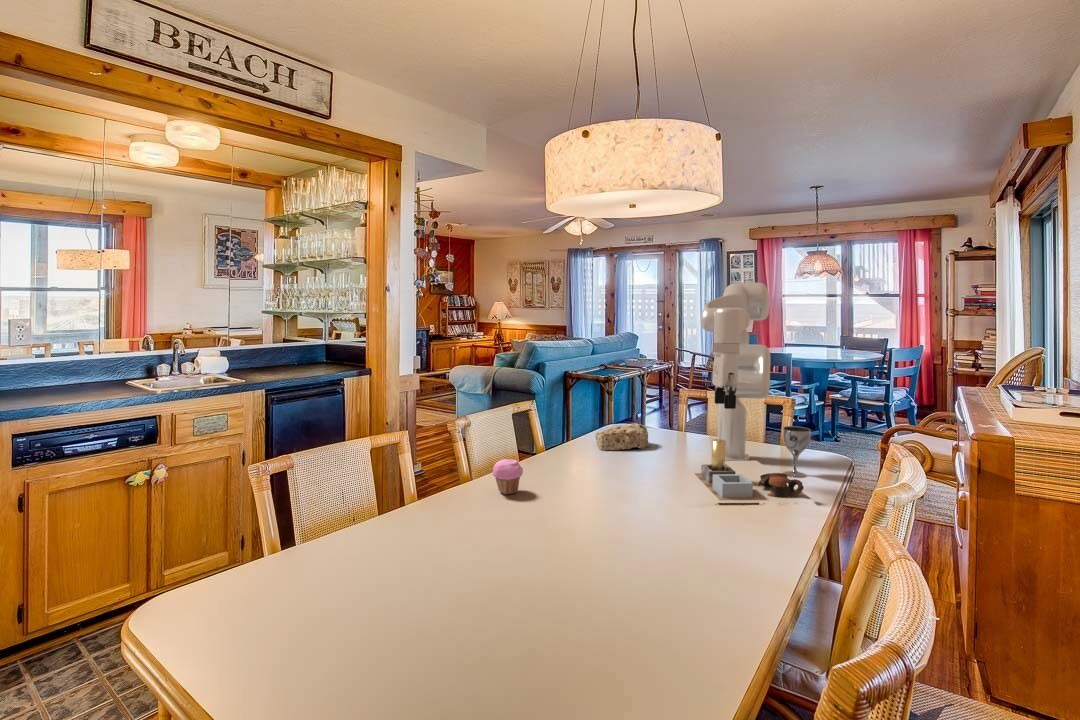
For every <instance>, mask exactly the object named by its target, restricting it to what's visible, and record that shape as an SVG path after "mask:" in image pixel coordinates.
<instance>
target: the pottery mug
mask: <svg viewBox="0 0 1080 720" xmlns="http://www.w3.org/2000/svg"><path fill="white" fill-rule="evenodd" d="M796 485H797V488H796V489H794V488H795V486H796ZM757 486H758V487H760V486H763V487H767V488H768V487H770V488H773V489H772V490H773V492H771V493H767V496H768V497H771V498H777V499H785V498H790V497H792V498H793V497H796V496H799V495H800V494H802V492H803V490H804V485H803V482H802V481H801V480H799V479H790V478H788V476H787V474H784V473H783V472H773V473H769V472H768V473H764V474H762V475H760V480H759V482H758V484H757Z"/></svg>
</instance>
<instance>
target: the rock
mask: <svg viewBox="0 0 1080 720" xmlns="http://www.w3.org/2000/svg"><path fill="white" fill-rule="evenodd" d="M594 437H595V440H596V443H597V444H596V446H597V448H598V450H599V451H603V450H605V451H619V450H630V449H633V448H637V449H642V450H643V449H646V448H648V447H649V432H648V428H647V427H646V425H645V424H641V423H636V422H633V423H630V424H628V423H626V424H624V425H622V426H621V425H617V426H614V427H609V428H606V429H605V430H602V431H601V432H598V431H597V432H596V433H595V434H594Z"/></svg>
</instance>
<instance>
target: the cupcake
mask: <svg viewBox="0 0 1080 720" xmlns="http://www.w3.org/2000/svg"><path fill="white" fill-rule="evenodd" d="M523 472H524V470H523V467H522V465H521V464H520V463H519V461H518V460H515V459H513V458H512V459H510V458H508V459H506V458H503V459H501V460H499V461H497V462H496V463H495V464H494V465H493V468H492V476H493V477H495V478H494V479H495V481H496V485H497V489H498V491H499V492H500V493H501V494H503V495H510V494H511V495H512V494H517V493H518V492H519V487H520V479H521V477H522V476H523Z"/></svg>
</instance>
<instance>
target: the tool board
mask: <svg viewBox="0 0 1080 720" xmlns="http://www.w3.org/2000/svg"><path fill="white" fill-rule="evenodd" d="M700 468H701V472H700V473H699V472H698V473H696V472H695V473H694V475H695V476H696V477H697V479H699V481H701V483H703V484H704V485H705V486H706V488H707V489H708V490H709V491H710V492H711V493H712V494H713V495H714V496H715V497H716V498H717V499H718V500H719V501H760V498H759V497H757V496H756V495H755V494H754V493H753V494H752V498H722V497H721V496H720V495H719V494H718V493H717V492H716V491H715V490H714V489H713V488H712V484H713V474H737V473H736V471H735V470H734V469H733V468H732V467H730V466H729V465H728V464H726V463H725V471H712V470H711V464H701V467H700ZM717 505H719V506H759V505H760V502H717Z"/></svg>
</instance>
